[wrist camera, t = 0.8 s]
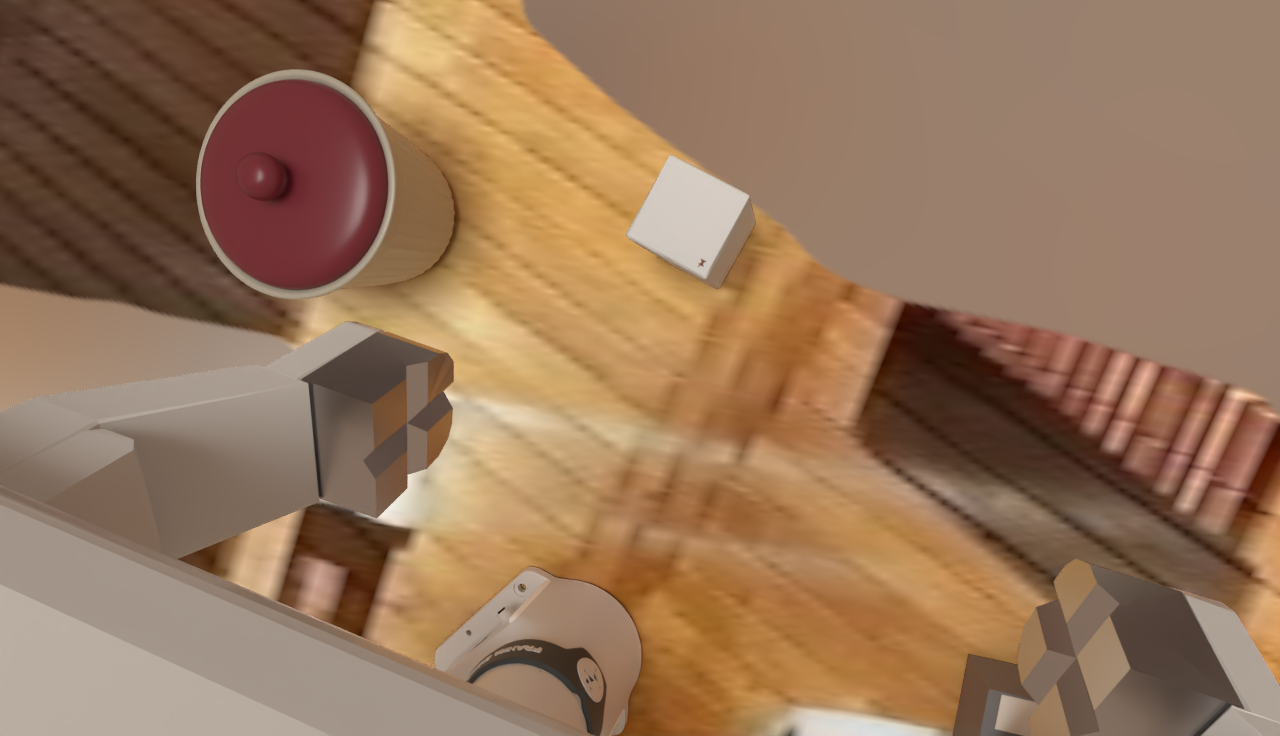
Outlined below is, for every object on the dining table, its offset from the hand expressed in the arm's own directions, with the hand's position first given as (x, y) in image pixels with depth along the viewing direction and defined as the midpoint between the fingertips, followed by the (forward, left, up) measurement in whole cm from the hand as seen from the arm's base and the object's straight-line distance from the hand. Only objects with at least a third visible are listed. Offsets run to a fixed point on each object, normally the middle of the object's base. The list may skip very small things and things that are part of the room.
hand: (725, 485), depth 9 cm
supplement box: (0, +12, -56) cm, 57 cm away
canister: (-25, +31, -56) cm, 68 cm away
